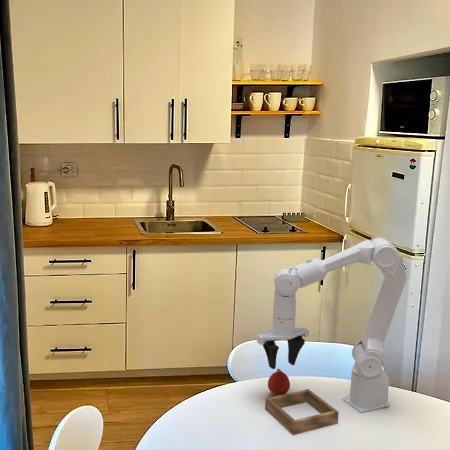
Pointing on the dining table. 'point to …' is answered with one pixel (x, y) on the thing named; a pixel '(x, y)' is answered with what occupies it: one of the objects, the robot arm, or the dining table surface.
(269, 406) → the box
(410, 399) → the dining table surface
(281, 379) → the onion
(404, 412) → the dining table surface
